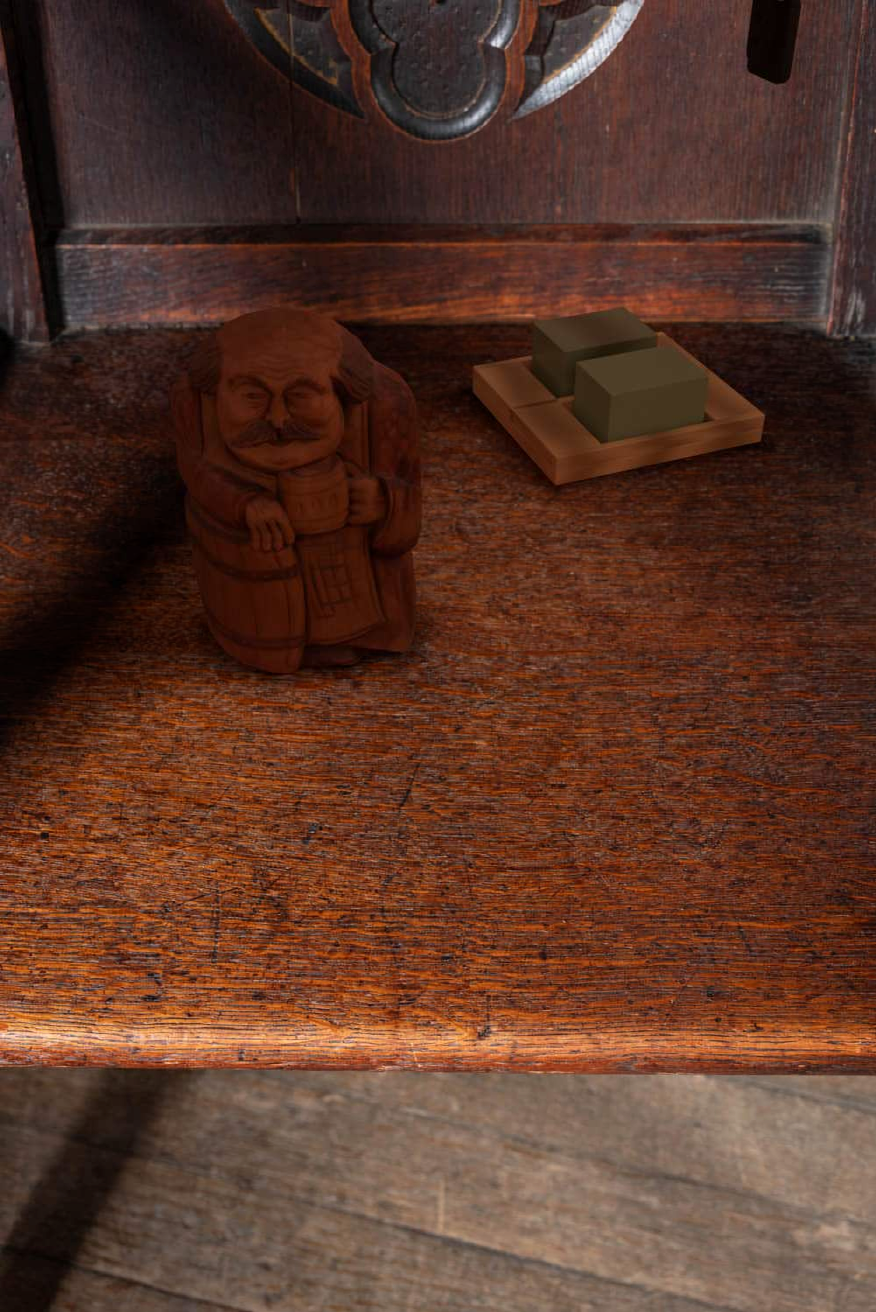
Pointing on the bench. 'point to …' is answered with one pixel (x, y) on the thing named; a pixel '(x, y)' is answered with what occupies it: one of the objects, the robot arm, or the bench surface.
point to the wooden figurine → (299, 491)
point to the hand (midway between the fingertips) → (844, 68)
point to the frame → (543, 397)
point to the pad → (639, 393)
